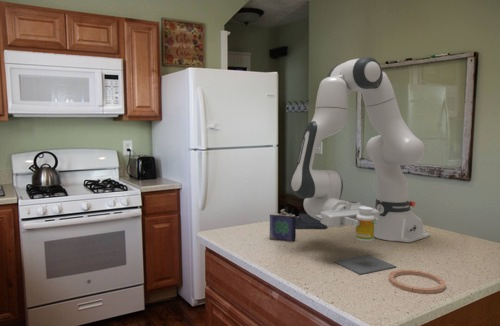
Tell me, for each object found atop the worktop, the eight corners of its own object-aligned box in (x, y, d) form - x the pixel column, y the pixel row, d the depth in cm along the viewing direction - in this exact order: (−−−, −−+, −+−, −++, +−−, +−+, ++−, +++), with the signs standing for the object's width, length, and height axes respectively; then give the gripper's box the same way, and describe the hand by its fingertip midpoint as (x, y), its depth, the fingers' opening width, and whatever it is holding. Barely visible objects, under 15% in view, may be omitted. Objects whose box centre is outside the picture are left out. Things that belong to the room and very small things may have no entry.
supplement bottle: (374, 242, 120) (375, 210, 119) (355, 241, 121) (357, 209, 120) (372, 237, 125) (374, 206, 125) (354, 236, 127) (356, 205, 126)
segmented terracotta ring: (414, 270, 120) (414, 266, 120) (457, 287, 107) (457, 283, 107) (377, 277, 114) (377, 274, 114) (418, 297, 101) (419, 293, 101)
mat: (368, 255, 133) (368, 254, 133) (396, 267, 122) (396, 266, 122) (334, 262, 127) (334, 260, 127) (360, 274, 116) (360, 273, 116)
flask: (268, 239, 151) (269, 209, 150) (270, 237, 154) (271, 207, 153) (294, 242, 148) (295, 211, 147) (296, 240, 151) (297, 209, 149)
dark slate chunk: (274, 221, 180) (274, 211, 180) (323, 221, 181) (323, 210, 181) (277, 230, 165) (277, 219, 165) (330, 230, 166) (331, 219, 165)
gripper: (312, 206, 130) (340, 215, 117) (361, 201, 139) (392, 209, 126) (311, 225, 130) (339, 236, 118) (361, 219, 139) (391, 229, 127)
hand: (367, 222), depth 122 cm, fingers closed on supplement bottle, 5 cm apart
